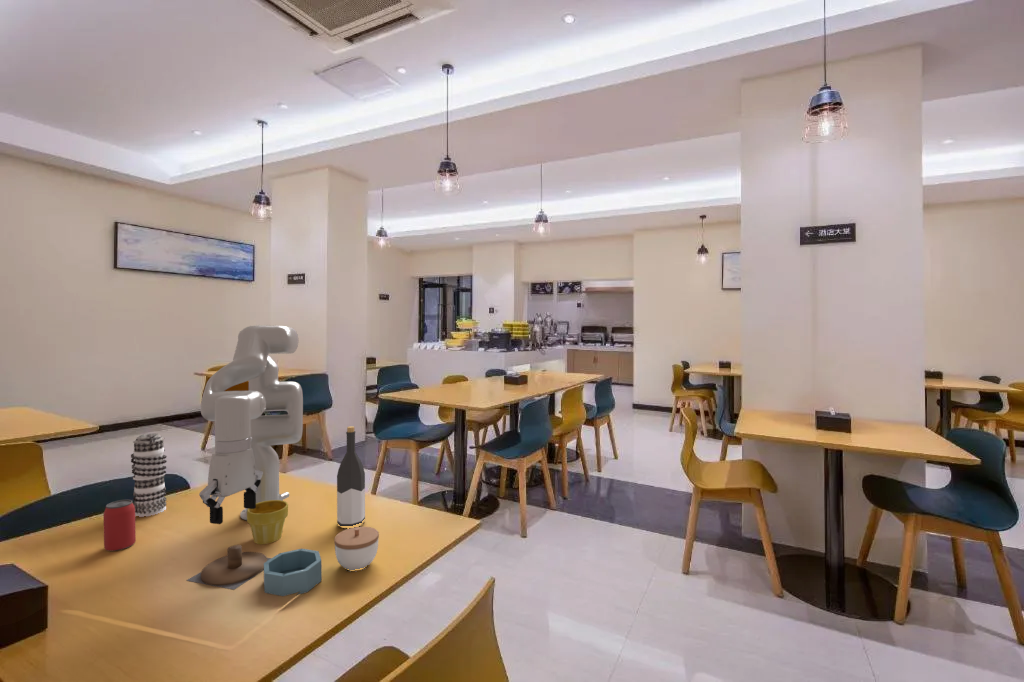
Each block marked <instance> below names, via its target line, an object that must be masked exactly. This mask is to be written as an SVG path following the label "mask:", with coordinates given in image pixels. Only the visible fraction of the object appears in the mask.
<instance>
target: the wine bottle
mask: <svg viewBox="0 0 1024 682" xmlns="http://www.w3.org/2000/svg"><path fill="white" fill-rule="evenodd" d="M345 434H346V453H345V455H344V456H343V459H342V460H341V462H340V464H339V467H338V471H337V474H336V509H337V510H336V513H337V514H336V518H337V519H336V521H337V523H338V524H339V525H340V526H353V525H356V524H359V523H362V521H363V520H364V519H365V520H366V472H365V467H364V466H363V462H362V460H361V458H360V457H359V455H358V454H357V452H356V431H355V426H354V425H352V426H351V425H350V426H347V429H346V431H345ZM337 523H336V524H337ZM338 524H337V525H338Z"/></svg>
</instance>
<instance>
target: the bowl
mask: <svg viewBox="0 0 1024 682" xmlns="http://www.w3.org/2000/svg"><path fill="white" fill-rule="evenodd" d="M270 558H271V559H270V560H268V561H267V562H265V563H264V571H263V589H264V593H265V594H270V595H274V596H281V597H285V596H288V595H292V594H296V595H302V594H306V593H308V592H309V591H311V590H312V589H313V588H315V585H316V584H317V585H318V584H319V583H320V582H322V581H321V580H322V576H323V575H322V572H323V571H322V570H323V569H322V568H323V567H322V557H321V555H320V552H319V550H313V549H308V548H298V549H294V550H289V551H284V552H279V553H278V554H276V555H275V556H273V557H270ZM317 585H316V586H317Z"/></svg>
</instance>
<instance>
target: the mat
mask: <svg viewBox="0 0 1024 682" xmlns="http://www.w3.org/2000/svg"><path fill="white" fill-rule="evenodd" d="M271 558H272V557H267V561H268V560H270V559H271ZM262 572H264V570H262V571H261V572H260V573H259V574H261V573H262ZM259 574H257V575H259ZM257 575H255V576H253V577H251V578H249V579H247V580H244V581H241V582H238V583H234V584H229V585H210V586H211V587H219V588H222V589H228V590H233V591H235V590H236V589H238V588H240V587H241V586H242V585H243V584H246V583H247V582H248V581H250V580H252V578H255V577H256V576H257ZM186 581H187V582H191V583H197V584H202V585H208V584H205V583H204V582H202V580H201V571H200V572H198V573H197V574H195V575H193V576H191V577H189V578H188V579H186ZM208 586H209V585H208Z"/></svg>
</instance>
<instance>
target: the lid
mask: <svg viewBox="0 0 1024 682" xmlns="http://www.w3.org/2000/svg"><path fill="white" fill-rule="evenodd" d="M242 550H243V546H242V545H241V544H234V545H231V546H229V547H228V548H227V555H225V556H222V557H219V558H217V559H215V560H213V561H212V562H209V563H208V564H207V565H205V566H204V567H203V569H202V570H201V571H200V572H201V580H202V582H204V583H205V584H204V585H206V584H208V586H211V585H229V584H234V583H238V582H241V581H244V580H247V579H249V578H251V577H253V576H255V575H256V576H257V574H258V575H259V574H261V573H262V572H263V571H262V570H264V563H265V562H267V558H268V557H267V555H266V554H265V553H262V552H258V551H242ZM261 571H262V572H261ZM260 572H261V573H260ZM256 576H255V577H256ZM253 578H254V577H253ZM251 579H252V578H251Z"/></svg>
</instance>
